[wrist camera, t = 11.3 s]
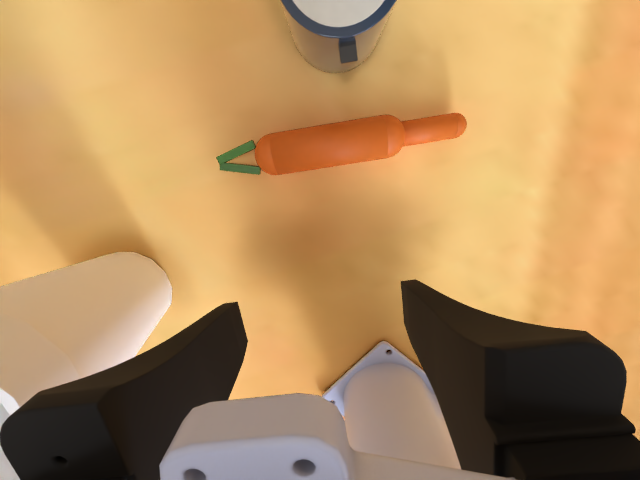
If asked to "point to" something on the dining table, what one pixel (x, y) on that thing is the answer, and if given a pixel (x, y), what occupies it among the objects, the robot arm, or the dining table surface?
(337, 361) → the dining table surface
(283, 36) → the dining table surface
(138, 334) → the foam cup
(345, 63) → the mug
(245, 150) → the carrot
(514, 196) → the dining table surface
